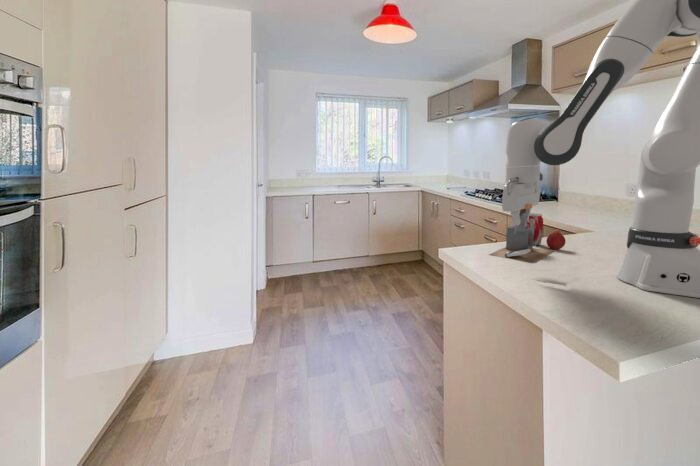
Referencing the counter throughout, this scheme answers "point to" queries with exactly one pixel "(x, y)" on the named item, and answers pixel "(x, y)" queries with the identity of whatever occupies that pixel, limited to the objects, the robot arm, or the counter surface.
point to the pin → (522, 221)
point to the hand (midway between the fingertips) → (520, 223)
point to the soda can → (536, 227)
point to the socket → (519, 239)
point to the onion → (556, 240)
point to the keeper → (517, 253)
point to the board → (524, 255)
